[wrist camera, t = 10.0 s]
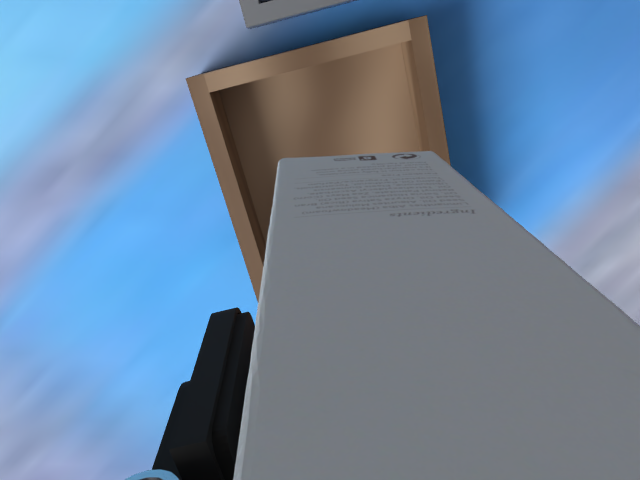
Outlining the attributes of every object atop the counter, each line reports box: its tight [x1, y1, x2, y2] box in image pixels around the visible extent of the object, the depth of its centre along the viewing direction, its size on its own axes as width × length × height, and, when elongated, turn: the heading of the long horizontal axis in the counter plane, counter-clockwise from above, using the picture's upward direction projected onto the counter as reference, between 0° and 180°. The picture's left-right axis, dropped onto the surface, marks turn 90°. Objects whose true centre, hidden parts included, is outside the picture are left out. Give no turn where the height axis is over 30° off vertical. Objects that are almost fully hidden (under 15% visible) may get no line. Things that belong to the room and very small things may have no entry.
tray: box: [186, 15, 451, 302], centre depth 26 cm, size 11×12×4 cm
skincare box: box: [233, 151, 640, 480], centre depth 9 cm, size 6×4×12 cm
